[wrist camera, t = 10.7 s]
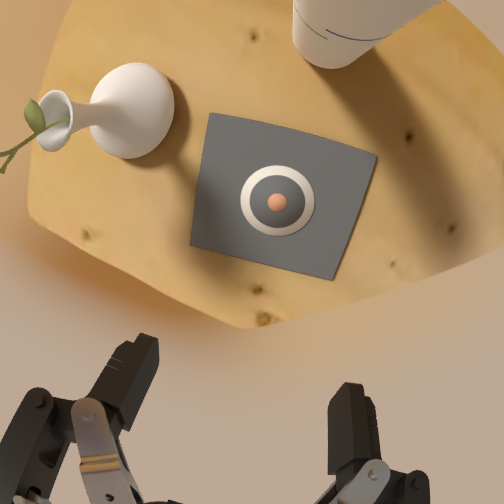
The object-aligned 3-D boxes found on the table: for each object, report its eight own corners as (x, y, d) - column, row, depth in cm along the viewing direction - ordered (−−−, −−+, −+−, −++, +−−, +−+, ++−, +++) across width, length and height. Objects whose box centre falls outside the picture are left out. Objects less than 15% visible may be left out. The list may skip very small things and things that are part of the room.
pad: (375, 154, 27) (378, 156, 26) (331, 277, 34) (331, 282, 34) (211, 112, 27) (208, 112, 26) (191, 243, 35) (188, 246, 34)
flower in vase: (164, 48, 24) (-41, 8, 2) (193, 135, 28) (-14, 227, 6) (80, 97, 27) (-94, 141, 5) (105, 173, 32) (-57, 276, 10)
